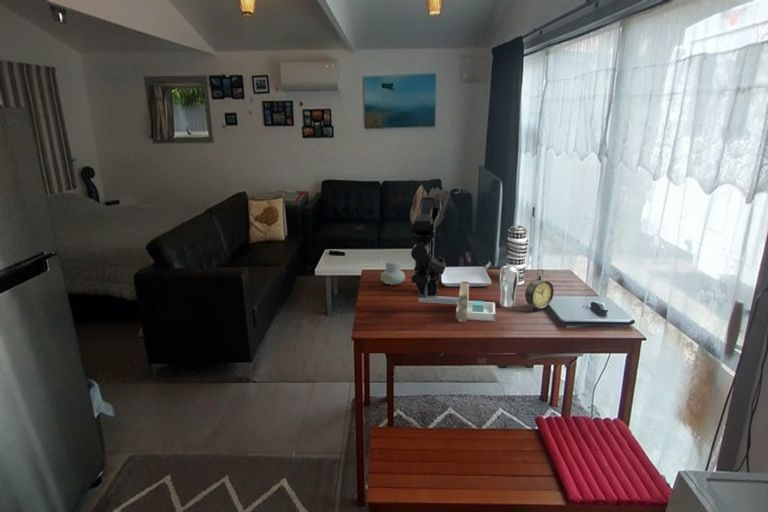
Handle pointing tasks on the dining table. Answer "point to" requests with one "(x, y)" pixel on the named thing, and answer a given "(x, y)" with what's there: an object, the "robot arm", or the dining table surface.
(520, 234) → the decorative candle
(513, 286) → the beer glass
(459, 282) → the salad plate
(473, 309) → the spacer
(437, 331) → the dining table surface
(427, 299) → the grey l-shaped block
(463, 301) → the guide frame
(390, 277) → the air freshener
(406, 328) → the dining table surface
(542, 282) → the alarm clock
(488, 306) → the tray
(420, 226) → the robot arm
